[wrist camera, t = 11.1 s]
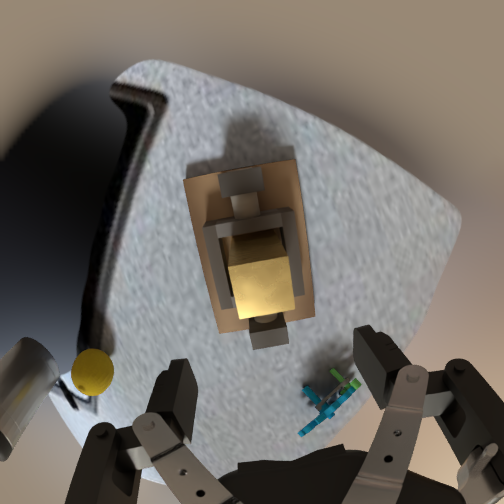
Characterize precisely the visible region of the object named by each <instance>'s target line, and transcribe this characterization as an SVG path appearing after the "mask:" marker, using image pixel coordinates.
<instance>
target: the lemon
mask: <svg viewBox="0 0 504 504" xmlns="http://www.w3.org/2000/svg"><path fill="white" fill-rule="evenodd" d="M113 375H114V366H113V363H112V361H111V359H110V357H109V356H108V355H107V354H106V353H105V352H103V351H101V350H98V349H87V350H85V351H83V352H82V353H80V354H79V355H78V357H77V358H76V359H75V361H74V363H73V366H72V370H71V378H72V381H73V384H74V385H75V387H76V388H77V389H78V390H79V391H80V392H81V393H83V394H85V395H89V396H96V395H99V394H101V393H103V392H104V391H105V390H106V389H107V388H108V387H109V385H110V384H111V382H112V379H113Z"/></svg>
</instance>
